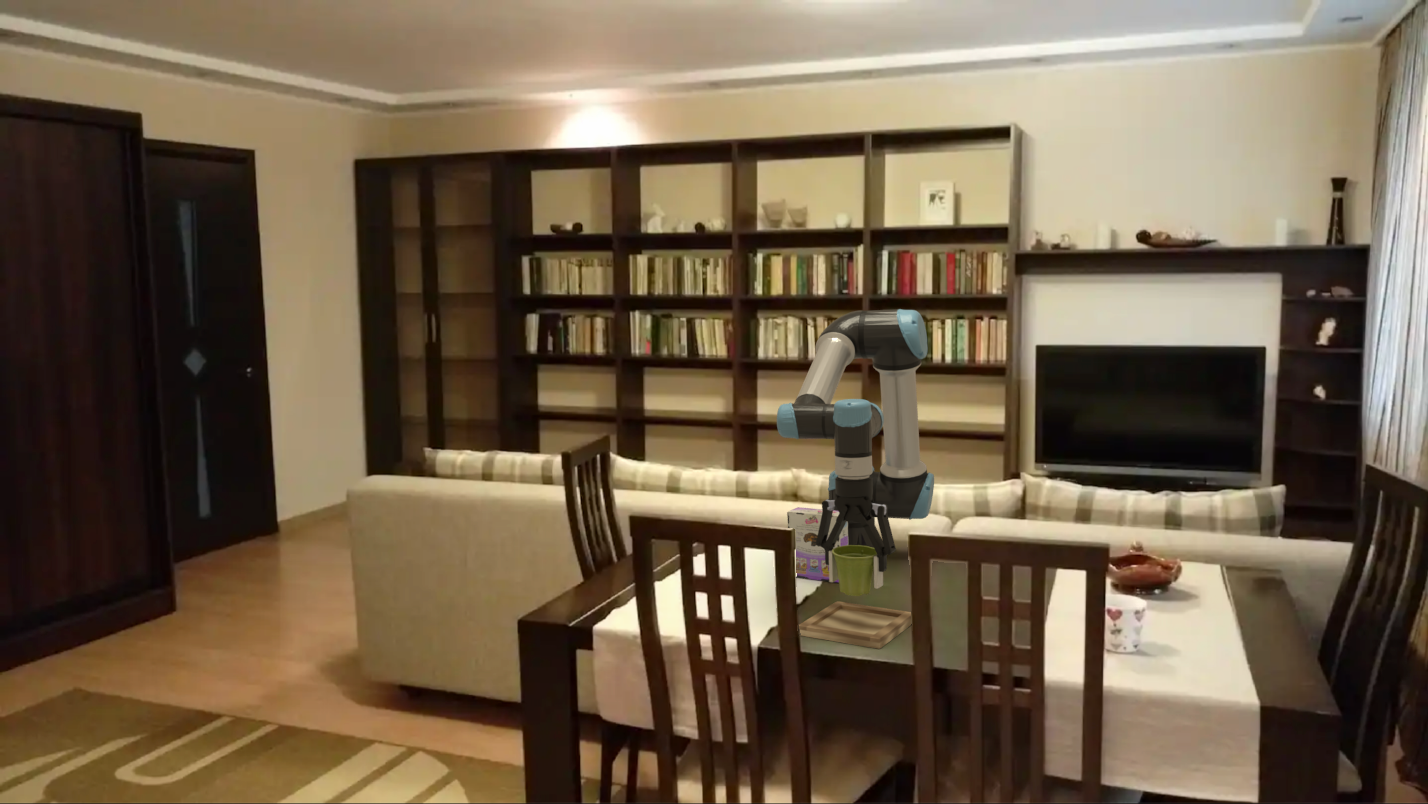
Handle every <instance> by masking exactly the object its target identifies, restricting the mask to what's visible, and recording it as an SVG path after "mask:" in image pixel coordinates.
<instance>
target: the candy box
mask: <svg viewBox="0 0 1428 804" xmlns="http://www.w3.org/2000/svg"><path fill="white" fill-rule="evenodd" d="M822 512H823V511H822V508H813V507H812V508H808V507H800V506H799V507H798V506H797V507H795V508H793V509H791V510H788V511H787V512H786V513H787V514H786V515H787V517H786V518H787V529H788V528H794V529H795V530H796V573H797V577H799V579H804V578H805V579H806V580H813V581H823V582H829V565H826V563H825V549H824V548H822V547H820V546H817V545H816V541H817V536H818V531H819V527H820V522H821V517H822ZM838 515H839V511H835V510H833V513H832V518H831V523H830V527H829V532H828V537H829V535H830V533H831V531H832V529H833V527H834V525H835V523H836V519H837V517H838ZM828 537H827V539H828ZM845 545H849V544H848V521H847V522H846V523H845V525H844V527H843V529H842V531H841V533H840V536H839V538H838V540H837V542H836V544H835V547H833V549H834V548H836V547H839V546H845ZM833 583H838V584H839V579H838V580H836V581H834V582H833Z"/></svg>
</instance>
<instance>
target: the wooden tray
mask: <svg viewBox="0 0 1428 804" xmlns="http://www.w3.org/2000/svg"><path fill="white" fill-rule="evenodd" d="M798 625H799V629H800V633H801V635H800V636H801V637H807V638H814V639H819V640H826V641H830V642H836V643H837V642H838V643H841V644H842V643H843V644H846V645H847V644H848V645H855V646H860V647H867V648H872V649H876V650H877V649H878V650H880V649H882V648H883V647H885V646H886V645H887V644H888V643H889V642H891V641H892V640H893V639H895V638H896V637H898V636H899V635H900V634H901V633H902V632H904V631H905V630H907V629H908V628H909V627H911V611H905V610H900V609H899V610H898V609H891V608H886V607H879V606H874V605H873V606H872V605H865V604H859V603H853V602H852V603H851V602H845V601H838V600H837V601H835V602H834V603H831V604H830V605H829V606H827V607H825V608H823V609H822V610H821V611H819V612H817V613H815V614H814V615H813V616H811V617H809V618H807V619H806V620H805V621H803V622H801V623H799V624H798Z"/></svg>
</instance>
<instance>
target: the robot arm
mask: <svg viewBox="0 0 1428 804" xmlns="http://www.w3.org/2000/svg"><path fill="white" fill-rule="evenodd" d="M814 348H815V356H814V357H813V360H812V362H811V365H810V367H809V369H808V372H807V374H806V376H805V378H804V379H803V380H804V381H803V383H802V385H801V387H800V389H799V392H798V394H797V397H796V399H795V401H794V402H789V403H783V404H780V406H779V407H778V410H777V412H776V414H777V415H776V427H777V432H778V434H779V435H780V437H782V438H786V439H787V438H788V439H796V440H807V439H808V440H810V439H811V440H814V439H815V440H819V439H820V440H821V439H822V440H834V470H833V471H831V472H830V474H829V475H828V476H829V477H828V488H827V490H828V499H825V500H822V501H821V509H822V511H823V512H822V517H821V522H820V527H819V531H818V536H817V541H816V545H817V546H820V547H822V548H824V549H825V563H826V565H829V581H828V582H829V583H835V582H834V581H836V580H838V571H837V564H836V560H835V556H834V554H833V553H832V550H833V547H835V544H836V542H837V540H838V538H839V536H840V533H841V531H842V529H843V527H844V525H845V523H846V522H847V521H848V544H849V545H862V546H869V547H873V548H874V549H875V551H876V553H877V555H876V556H874V568H873V586H874V589H876V590H877V589H880V588H881V587H882V586H884V572H887V569H888V563H887V562H888V561H887V560H888V559H887V558H888V557H887V556H888V555H892V554H893V553H895V552H896V551H897V548H896V545H895V540H894V536H893V533H892V528H891V524H890V520H889V519H900V520H901V519H903V520H904V519H905V520H909V521H910V520H911V521H912V520H922V519H925V518H927V517H928V516H929V514H930V512H931V511H930V510H931V506H932V502H933V496H934V490H935V489H934V488H935V476H934V474H933V473H931V472H928V467H927V466H928V465H927V464H926V463H925V462H923V461H922V460H921V451H920V450H921V449H920V434H919V433H920V430H919V428H920V427H919V413H918V397H917V396H918V394H917V393H918V392H917V376H916V375H917V374H916V371H917V370H918V369H919V367H921V365H922V360H923V359H925V358H927V355H928V351H929V350H928V349H929V348H928V336H927V330H926V324H925V321H924V318H923V317H922V315H921V313H920V312H919V311H917V310H915V309H901V308H897V309H896V308H895V309H880V310H879V309H877V310H855V311H854V310H853V311H851V312H848V313H846V314H844V315H842V316H841V315H840V316H839V317H837V318H836V319H835V320H833V321H832V322H831V323H829V325H827V327H825V329H824V330H823V331H822V332H821V333H820V335H819V336H818V339H817V341H816V344H815V347H814ZM856 359H864V360H865V359H869V360H872V367H873V369H875V371H877V372H878V373H879V385H880V396H881V397H880V398H881V399H880V400H881V408H880V406H879V405H877V404H876V403H874V402H870V401H869V400H866V399H862V398H861V399H860V398H849V399H848V398H845V399H839V400H837V401H835V403H832V401H833V399H834V396H835V394H836V391H837V389H838V386H839V384H840V381H841V379H842V377H843V374H844V372H845V369H846V367H847V366H848V365H850V364H851V363H852V362H853V360H856ZM882 428H883V441H884V442H883V443H884V445H883V446H884V455H885V456H884V459H885V462H883V463H882V465H881V466H880V468H879V471H875V469H876V468H874V466H873V450H872V448H873V442H872V441H873V440H872V439H873V438H874V437H876V436H878V434H879V433H880V432H881V430H882ZM833 510H835V511H839V515H838V517H837V519H836V523H835V525H834V527H833V529H832V531H831V533H830V535H829V537H828V532H829V527H830V523H831V518H832V513H833ZM876 519H877V524H878V527H879V530H880V531H878V528H877V527H876V524H875V523H876ZM827 537H828V539H827Z"/></svg>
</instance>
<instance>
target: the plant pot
mask: <svg viewBox="0 0 1428 804" xmlns="http://www.w3.org/2000/svg"><path fill="white" fill-rule="evenodd" d="M832 553H833V554H834V556H835V560H836V564H837V571H838V579H839V583H838V586H839V591H840V593H844V594H845V596H851V597H859V596H862V595H864V594H865V595H869V594H870V592H871V587H872V580H873V575H874V556H876V555H877V553H876V551H875V549H874V548H873V547H869V546H862V545H845V546H839V547H836V548H834V549H833V550H832Z"/></svg>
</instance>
